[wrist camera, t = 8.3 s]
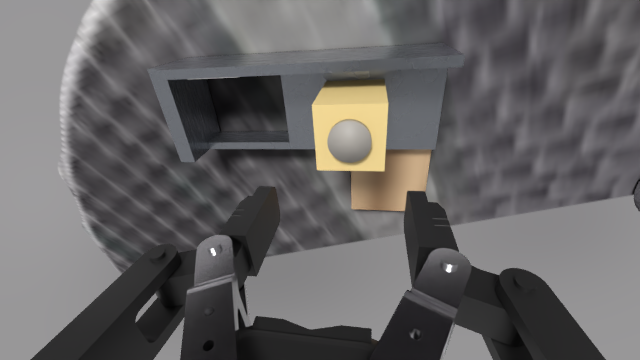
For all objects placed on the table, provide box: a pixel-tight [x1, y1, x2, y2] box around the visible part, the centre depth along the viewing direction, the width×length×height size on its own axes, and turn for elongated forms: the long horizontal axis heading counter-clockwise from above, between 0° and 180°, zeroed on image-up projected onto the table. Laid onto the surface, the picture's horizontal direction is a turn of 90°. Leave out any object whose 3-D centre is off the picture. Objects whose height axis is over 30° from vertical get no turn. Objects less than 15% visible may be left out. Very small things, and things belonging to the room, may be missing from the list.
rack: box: [147, 43, 465, 162], centre depth 26 cm, size 24×9×7 cm, turn 94°
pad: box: [351, 149, 431, 211], centre depth 31 cm, size 8×8×2 cm
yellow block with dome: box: [312, 79, 388, 171], centre depth 22 cm, size 5×5×8 cm
